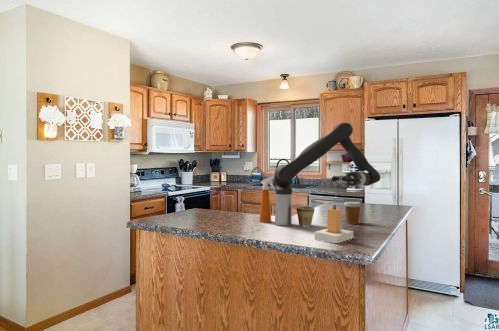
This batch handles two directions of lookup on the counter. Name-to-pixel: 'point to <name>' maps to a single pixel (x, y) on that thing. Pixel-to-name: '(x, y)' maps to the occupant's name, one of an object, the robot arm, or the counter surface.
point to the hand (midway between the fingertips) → (339, 179)
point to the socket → (334, 236)
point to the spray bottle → (265, 200)
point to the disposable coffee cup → (352, 211)
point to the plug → (334, 220)
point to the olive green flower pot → (305, 215)
